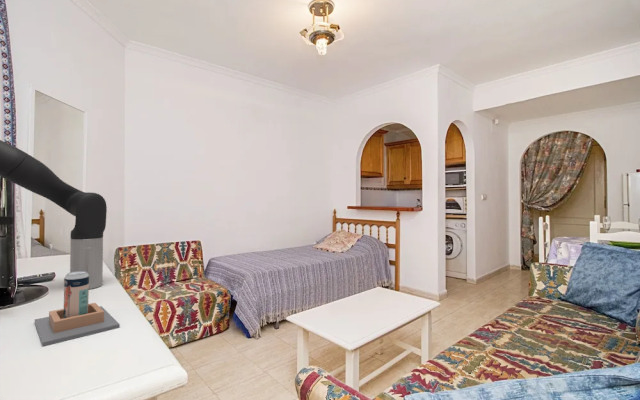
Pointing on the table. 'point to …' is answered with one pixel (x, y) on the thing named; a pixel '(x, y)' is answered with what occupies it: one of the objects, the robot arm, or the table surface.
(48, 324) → the socket plate
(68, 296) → the beer can
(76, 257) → the robot arm
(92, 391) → the table surface
